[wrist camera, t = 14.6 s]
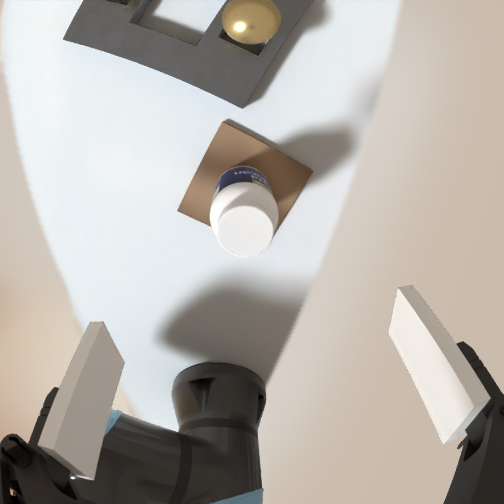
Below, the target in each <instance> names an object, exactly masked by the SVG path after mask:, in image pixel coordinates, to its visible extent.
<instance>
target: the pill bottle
mask: <svg viewBox="0 0 504 504" xmlns="http://www.w3.org/2000/svg"><path fill="white" fill-rule="evenodd" d="M278 218H279V213H278V207H277V204H276V201H275V199H274V196H273V193H272V190H271V187H270V185H269V182H268V180H267V178H266V177H265V176H264V174H262V173H261V172H260V171H259V170H257V169H255V168H253V167H250V166H236V167H233V168H231V169H229V170H227V171H226V172H224V173H223V174H222V175H221V177H220V178H219V180H218V182H217V184H216V187H215V192H214V196H213V200H212V204H211V209H210V223H211V226H212V229H213V231H214V233H215V234H216V236H217V238H218V241H219V243H220V244H221V246H222V247H223V248H224V249H225V250H226V251H227V252H228V253H230V254H232V255H234V256H238V257H252V256H256V255H258V254H260V253H262V252H263V251H264V250H265V249H266V248H267V247H268V246H269V245H270V243H271V241H272V239H273V235H274V231H275V229H276V227H277V224H278Z"/></svg>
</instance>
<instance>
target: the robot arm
mask: <svg viewBox="0 0 504 504" xmlns="http://www.w3.org/2000/svg"><path fill="white" fill-rule="evenodd" d="M388 334H389V336H390V337H391V339H392V341H393V343H394V345H395V347H396V349H397V350H398V352H399V354H400V356H401V358H402V360H403V362H404V363H405V365H406V368H407V369H408V371H409V373H410V375H411V377H412V379H413V381H414V383H415V385H416V387H417V389H418V391H419V393H420V395H421V397H422V399H423V402H424V404H425V406H426V408H427V410H428V412H429V414H430V416H431V419H432V421H433V423H434V425H435V427H436V429H437V432H438V434H439V436H440V439H441V440H442V443H443V445H444V444H446V443H448V442H450V441H452V440H454V439H456V438H459V437H460V435H461V434H462V433H463V432H464V431H466V433H467V436H466V437H465V438H464V440H463V441H462V442H461V443H460V444H459V445H458V447H457V449H460V448H461V447H462V446H463V449H462V452H461V456H460V459H459V462H458V465H457V468H456V471H455V474H454V477H453V480H452V483H451V486H450V488H449V491H448V493H447V496H446V499H445V501H444V503H443V504H504V394H503V393H502V392H501V391H500V389H499V387H498V386H497V384H496V383H495V381H494V380H493V378H492V377H491V375H490V373H489V372H488V370H487V369H486V367H484V365H483V363H482V361H481V360H480V359H479V357H478V356H477V354H476V353H475V351H474V350H473V349H472V348H471V347H470V346H469V345H467V344H466V343H465V342H460V343H457V344H456V343H455V342H454V341H453V339H452V338H451V336H450V335H449V333H448V332H447V331H446V329H445V328H444V327H443V325H442V324H441V322H440V321H439V319H438V318H437V317H436V315H435V314H434V313H433V312H432V310H431V309H430V307H429V306H428V305H427V304H426V302H425V301H424V300H423V298H422V297H421V296H420V294H419V293H418V292H417V291H416V289H415V288H414V287H413V286H412V285H410V286H405V287H399V288H398V290H397V296H396V300H395V305H394V309H393V314H392V318H391V323H390V327H389V331H388ZM124 363H125V362H124V360H123V359H122V357H121V355H120V353H119V351H118V349H117V347H116V345H115V344H114V342H113V340H112V338H111V336H110V334H109V332H108V330H107V328H106V326H105V324H104V322H90V323H89V325H88V327H87V329H86V331H85V333H84V335H83V337H82V339H81V341H80V343H79V346H78V347H77V349H76V352H75V354H74V356H73V358H72V360H71V362H70V365H69V367H68V369H67V371H66V374H65V376H64V378H63V381H62V383H61V385H60V387H59V388H57V387H54V388H53V389H52V390H51V392H50V393H49V394H48V395H47V397H46V399H45V402H44V404H43V408H42V409H41V412H40V416H39V417H38V419H37V422H36V424H35V427H34V429H33V433H32V435H31V438H30V441H29V443H28V444H27V443H26V442H25V441H24V440H23V439H22V438H21V437H19V436H18V435H17V434H9V435H7V436H6V437H4V438H3V440H2V441H1V443H0V504H262V501H263V488H262V480H261V468H260V456H259V445H258V427H259V423H260V420H261V417H262V414H263V411H264V407H265V404H266V390H265V385H264V383H263V381H262V380H261V378H260V377H259V376H257V375H256V374H255V373H253V372H251V371H250V370H247V369H245V368H242V367H239V366H235V365H230V364H222V363H209V364H201V365H196V366H193V367H190V368H188V369H186V370H184V371H182V372H181V373H180V374H178V375H177V377H176V378H175V380H174V383H173V389H172V401H173V405H174V409H175V413H176V417H177V421H178V424H179V432H176V431H173V430H169V429H166V428H163V427H160V426H157V425H154V424H151V423H148V422H145V421H143V420H140V419H137V418H134V417H132V416H129V415H126V414H124V413H122V411H119V410H116V411H115V410H112V409H111V407H112V403H113V400H114V397H115V393H116V390H117V386H118V383H119V380H120V376H121V373H122V370H123V367H124ZM10 489H11V490H13V496H12V495H11V494H10Z"/></svg>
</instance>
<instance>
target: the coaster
mask: <svg viewBox="0 0 504 504" xmlns="http://www.w3.org/2000/svg"><path fill="white" fill-rule="evenodd" d="M236 166H250V167H253V168H255V169H257V170H259V171H260V172H261V173H262V174H264V176H265V177H266V178H267V180H268V182H269V185H270V187H271V190H272V193H273V196H274V199H275V201H276V204H277V207H278V213H279V218H278V224H277V227H276V229H277V228H278V226H279V225H280V223H281V221H282V220H283V218H284V217H285V215H286V214H287V212H288V210H289V209H290V207H291V206H292V204H293V203H294V201H295V199H296V198H297V196H298V195H299V193H300V192H301V190H302V188H303V187H304V185H305V184H306V182H307V180H308V179H309V177H310V176H311V174H312V173H313V171H312V170H311V169H309V168H307V167H305V166H304V165H302V164H300V163H299V162H297V161H295V160H293V159H292V158H290V157H288V156H286V155H285V154H283V153H281V152H279V151H278V150H276V149H274V148H272V147H270V146H269V145H267V144H265V143H263V142H261V141H259V140H257V139H256V138H254V137H252V136H250V135H248V134H246V133H244V132H242V131H240V130H238V129H236V128H234V127H232V126H230V125H228V124H226V123H224V122H222V123H221V125H220V127H219V129H218V131H217V133H216V134H215V136H214V138H213V140H212V142H211V144H210V146H209V148H208V150H207V151H206V153H205V155H204V157H203V159H202V161H201V163H200V165H199V167H198V169H197V171H196V173H195V175H194V177H193V179H192V181H191V183H190V185H189V187H188V189H187V191H186V193H185V195H184V197H183V200H182V202H181V204H180V206H179V208H178V210H177V211H178V212H181V213H183V214H185V215H187V216H189V217H191V218H193V219H196V220H198V221H200V222H202V223H204V224H206V225H208V226H211V223H210V209H211V204H212V200H213V196H214V192H215V187H216V184H217V182H218V180H219V178H220V177H221V175H222V174H223V173H224V172H226V171H227V170H229V169H231V168H233V167H236ZM211 227H212V226H211ZM276 229H275V231H276ZM275 231H274V232H275Z"/></svg>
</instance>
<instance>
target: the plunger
mask: <svg viewBox="0 0 504 504" xmlns="http://www.w3.org/2000/svg"><path fill="white" fill-rule="evenodd" d="M280 23H281V14H280V11H279V9H278V7H277V6H276V5H275V4H274V3H273V2H272V1H271V0H231V1H230V2H229V3H228V4H227V5H226V7H225V8H224V10H223V13H222V24H223V28H224V30H225V32H226V33H227V34H228V36H230V37H231V38H232V39H233V40H235V41H237V42H239V43H243V44H249V45H253V44H260V43H263V42H265V41H267V40H269V39H270V38H272V37H273V36H274V35H275V33H276V32H277V30H278V29H279V27H280Z"/></svg>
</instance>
